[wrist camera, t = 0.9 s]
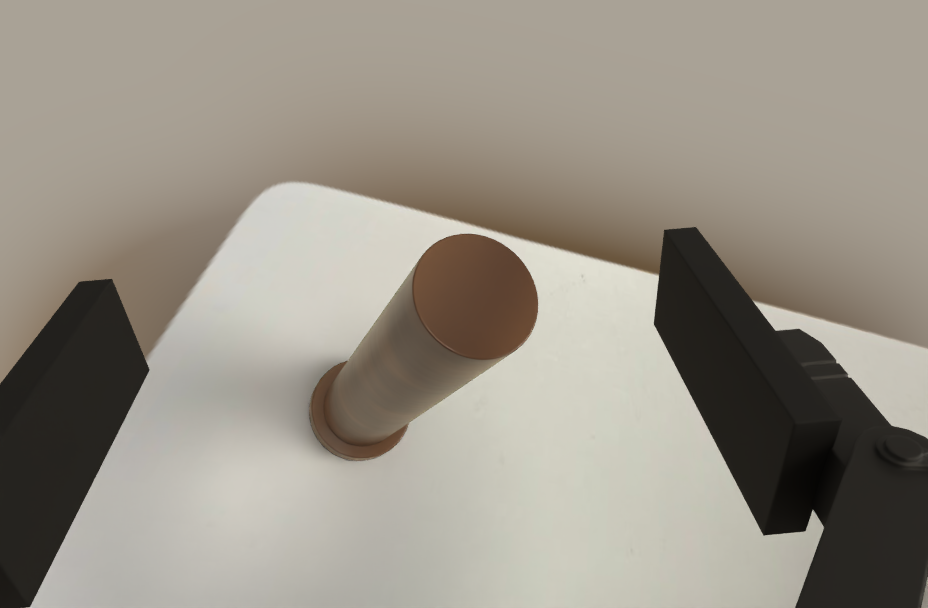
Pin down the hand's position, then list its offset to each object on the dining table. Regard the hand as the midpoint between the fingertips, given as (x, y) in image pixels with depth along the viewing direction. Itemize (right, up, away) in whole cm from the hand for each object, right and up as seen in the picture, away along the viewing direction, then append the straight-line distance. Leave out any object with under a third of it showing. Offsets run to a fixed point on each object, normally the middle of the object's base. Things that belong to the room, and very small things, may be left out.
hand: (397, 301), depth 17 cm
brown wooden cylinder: (-4, -6, +20) cm, 21 cm away
